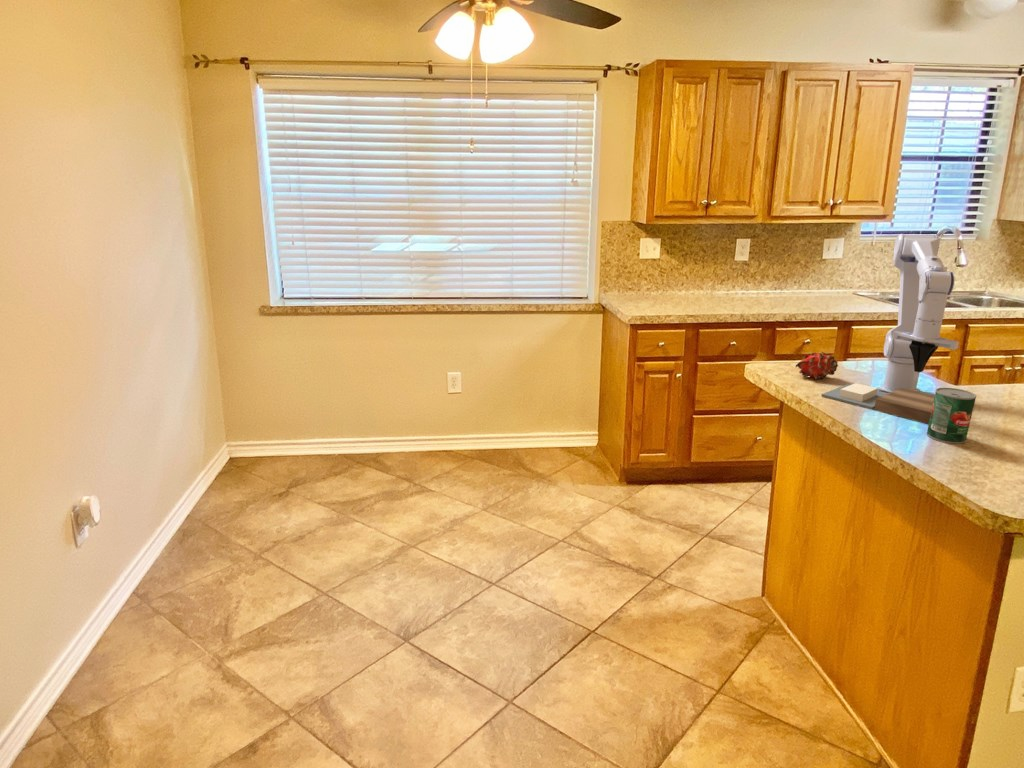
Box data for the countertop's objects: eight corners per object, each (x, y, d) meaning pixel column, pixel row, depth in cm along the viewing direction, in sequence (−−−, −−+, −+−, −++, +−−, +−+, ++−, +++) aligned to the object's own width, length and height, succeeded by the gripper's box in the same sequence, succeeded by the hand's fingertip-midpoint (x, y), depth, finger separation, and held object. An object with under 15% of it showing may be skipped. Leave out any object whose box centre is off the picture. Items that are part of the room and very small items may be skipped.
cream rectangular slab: (877, 388, 184) (876, 395, 184) (855, 383, 188) (854, 389, 189) (863, 394, 178) (861, 401, 179) (840, 389, 182) (839, 396, 183)
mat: (848, 385, 194) (848, 383, 194) (897, 397, 185) (898, 395, 184) (821, 396, 185) (821, 394, 184) (871, 409, 175) (872, 407, 175)
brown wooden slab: (899, 397, 184) (901, 387, 183) (956, 411, 174) (959, 400, 173) (873, 409, 174) (876, 398, 173) (933, 425, 164) (935, 413, 163)
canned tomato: (929, 428, 162) (938, 385, 158) (968, 436, 157) (978, 392, 154) (923, 438, 156) (933, 393, 153) (963, 446, 151) (974, 400, 148)
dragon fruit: (839, 385, 200) (796, 387, 203) (833, 362, 205) (791, 365, 208) (843, 367, 194) (799, 370, 196) (837, 344, 199) (794, 348, 202)
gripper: (891, 316, 172) (882, 367, 176) (955, 326, 161) (943, 380, 165) (903, 313, 176) (894, 363, 180) (966, 322, 165) (954, 375, 169)
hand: (918, 371), depth 173 cm, fingers closed
